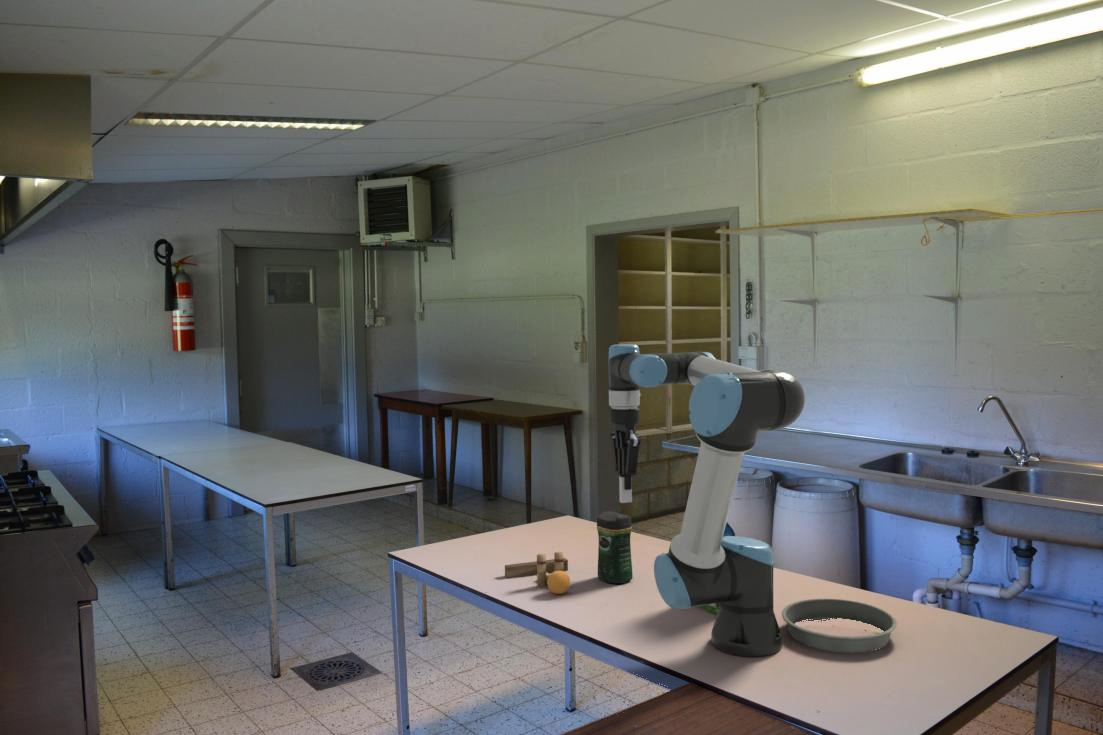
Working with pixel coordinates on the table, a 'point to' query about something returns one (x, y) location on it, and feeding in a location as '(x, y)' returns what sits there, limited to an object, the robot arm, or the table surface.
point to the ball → (558, 582)
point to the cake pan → (836, 609)
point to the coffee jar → (614, 547)
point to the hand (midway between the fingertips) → (625, 501)
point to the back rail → (531, 568)
